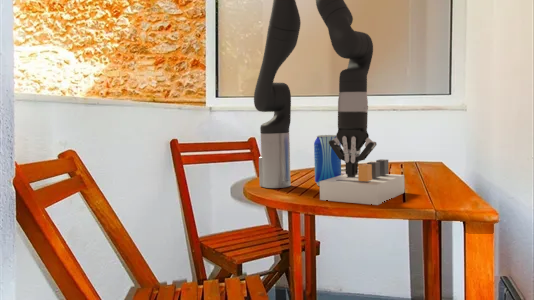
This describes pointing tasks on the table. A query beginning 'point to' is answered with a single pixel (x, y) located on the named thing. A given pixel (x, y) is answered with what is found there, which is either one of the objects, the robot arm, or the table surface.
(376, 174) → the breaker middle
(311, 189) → the table surface
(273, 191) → the table surface
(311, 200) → the table surface
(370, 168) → the block
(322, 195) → the breaker panel
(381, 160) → the block
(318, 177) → the beer can
